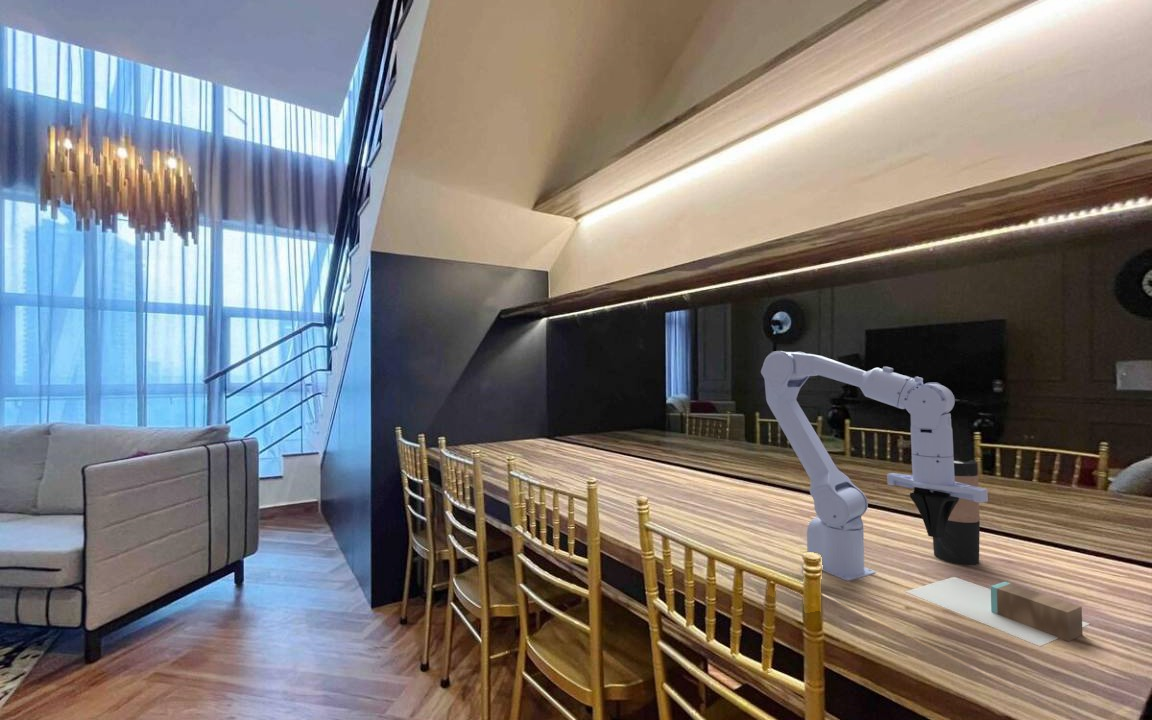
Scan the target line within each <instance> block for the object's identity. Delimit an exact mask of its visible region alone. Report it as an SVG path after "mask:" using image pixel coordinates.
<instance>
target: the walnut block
mask: <svg viewBox="0 0 1152 720" xmlns="http://www.w3.org/2000/svg"><path fill="white" fill-rule="evenodd" d="M990 589H991V612H993V613H995V614H998V615H1000V616H1003V617H1006V618H1008V619H1011V620H1013V621H1016V622H1019V623H1021V624H1024V625H1027V626H1029V627H1032V628H1034V629H1037V630H1040V631H1042V632H1045V633H1048V634H1050V635H1053V636H1055V637H1058V639H1061V640H1064V641H1067V642H1071V641H1073V640H1075V639H1076V638H1079V637H1081V636H1083V634H1084V631H1083V627H1082V621H1083V610H1082V609H1083V607H1082V606H1081V605H1078V604H1075V603H1072V602H1069V601H1066V600H1063V599H1060V598H1057V597H1053V596H1051V595H1048V594H1046V593H1045V594H1043V593H1041V592H1038V591H1035V590H1032V589H1029V588H1026V587H1022V586H1020V585H1017V584H1014V583H1011V582H1008V581H1002V582H999V583H996V584H992V585H990Z"/></svg>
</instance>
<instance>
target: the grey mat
mask: <svg viewBox="0 0 1152 720" xmlns="http://www.w3.org/2000/svg"><path fill="white" fill-rule="evenodd" d="M904 592H905V593H907V594H910V595H911V596H914V597H917V598H919V599H921V600H925V601H926V602H929V603H931V604H934V605H936V606H939V607H942V608H944V609H946V610H948V611H952V612H954V613H956V614H959V615H961V616H964V617H966V618H969V619H971V620H973V621H976V622H979V623H982V624H983V625H986V626H988V627H990V628H992V629H996V630H998V631H1001V632H1003V633H1005V634H1008V635H1010V636H1012V637H1015V638H1017V639H1020V640H1023V641H1025V642H1028V643H1031V644H1032V645H1035V646H1038V647H1043V646H1044V645H1047V644H1049V643H1051V642H1054V641H1055V640H1058V639H1059V638H1058V637H1055V636H1053V635H1050V634H1048V633H1045V632H1042V631H1040V630H1037V629H1034V628H1032V627H1029V626H1027V625H1024V624H1021V623H1019V622H1016V621H1013V620H1011V619H1008V618H1006V617H1003V616H1000V615H998V614H995V613H993V612H991V588H987V587H985V586H982V585H979V584H975V582H970V581H968V580H964V579H961V578H959V577H956V576H951V577H949V578H945V579H942V580H938V581H935V582H932V583H928V584H926V585H925V584H924V585H922V586H920V587H919V586H918V587H916V588H913V589H909V590H906V591H904ZM1088 625H1090V623H1088V622H1086V621H1083V620H1082V628H1084V627H1087V626H1088Z"/></svg>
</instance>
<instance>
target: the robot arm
mask: <svg viewBox="0 0 1152 720" xmlns="http://www.w3.org/2000/svg"><path fill="white" fill-rule="evenodd" d="M760 373H761V375H762V377H763V379H764V388H765V389H764V390H765V400H766V403H767V405H768V407H769V409H770V411H771V412H772V414H773V416H774V417H775V419H776V421H777V423H778V425H779V427H780V429H781V430H782V432H783V433H784V435H785V436H786V439H787V441H788V442H789V444H790V446H791V447H792V449H793V452H795V455H796V456H797V458H798V460H799V462H800V463H801V465H802V466H803V469H804V470H805V472H806V474H807V475H808V477H809V479H810V486H809V493H810V496H811V497H812V501H813V504H814V506H813V507H814V510H815V514H816V515H817V517H814V518H813V519H811V520H810V522H809V523H808V524H807V528H806V545H807V546H806V548H807V550H806V551H807V552H814V553H818V554H820V555H821V557H822V565H823V571H822V572H826V573H828V574H830V575H833V576H835V577H838V578H839V579H841V580H844V581H847V582H849V581H852V580H856V579H860V578H863V577H867V576H871V575H875V574H876V573H877V572H876V570H873V569H870V568H868V567H865V542H864V541H865V538H864V537H865V536H864V535H865V534H864V532H865V531H864V530H865V529H864V522H863V519H862V516H863V515H865V513H866V512H867V510H868V506H869V503H868V502H869V501H868V498H867V496H866V494H865V493H864V491H862V490H861V489H860V488H859V487H858V486H856V485H855V484H854V483H853V482H852V480H851V479H850V477H849V476H848V475H846V474H845V473H843V472H842V471H841V470H839V468H838V467H837V466H836V464H835V463H834V461H833V459H832V457H831V456H830V454H829V452H828V451H827V449H826V448H825V446H824V443H822V440H821V439H820V437H819V436H818V434H817V433H816V431H815V428H814V427H813V426H812V424H811V423H810V421H809V419H808V417H807V416H806V414H805V412H804V411H803V409H802V407H801V406H800V404H799V402H798V401H797V398H798V396H799V395H798V394H799V392H800V390H801V388H802V386H803V385H804V384H805V383H806V381H807V380H808V379H809V378H810V377H815V376H820V377H824V378H828V379H830V380H833V381H834V380H835V381H838V382H841V383H844V384H848V385H851V386H855V387H858V388H859V389H860V390H861V392H862V394H863V395H864V397H866V398H868V399H871V400H875V401H877V402H880V403H883V404H886V405H889V406H892V407H895V408H897V409H901V410H906V411H907V412H908V413H909V415H910V444H911V445H910V447H911V448H910V449H911V468H912V470H911V471H912V474H904V473H896V472H891V473H887V474H886V479H887V482H886V483H887V484H886V485H889V486H899V487H903V488H909V489H913V491H912V492H910V493H909V497H910V499H911V501H912V502H913V504H914V505H915V507H916V508H917V511H918V512H919V514H920V516H921V518H922V521H923V524H924V526H925V529H926V533H927V536H928V537H931V538H933V537H934V538H939V537H943V536H944V532H945V528H946V524H947V521H948V518H949V516H950V514H951V512H952V510H953V508H954V507H955V505H956V504H957V502H958V501H959V498H964V499H969V500H973V501H974V502H979V504H982V503H988V502H989V498H988V497H989V496H988V493H989V492H988V488H984V487H983V488H982V487H979V486H978V487H974V486H970V485H967V484H963V483H959V482H955V476H954V458H955V457H954V439H953V437H954V436H953V434H954V433H953V427H952V418H951V417H952V415H951V413H950V412H951V411H952V410H953V408H954V406H955V403H956V402H955V401H956V399H955V398H956V397H955V395H954V394H953V392H952V390H951V389H949V388H948V387H946V386H945V385H942V384H941V383H939V382H937V381H936V382H926V383H924V378H923V377H919V376H914V377H911V376H908V375H903V374H900V373H898V372H894V368H893V367H889V366H883V367H882V368H880V367H874V368H872V369H869V370H867V371H866V370H863V369H860V368H859V367H855V366H851V365H849V364H846V363H843V362H840V361H837V360H835V359H831V358H828V357H826V356H823V355H818V354H814V353H806V352H803V351H783V350H776V351H771V353H769V354H768V355H767V356H766V357H765V359H764V361H763V365H762V367H761V370H760ZM942 490H943V491H942ZM807 552H806V553H807Z"/></svg>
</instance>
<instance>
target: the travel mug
mask: <svg viewBox="0 0 1152 720" xmlns="http://www.w3.org/2000/svg"><path fill="white" fill-rule="evenodd" d="M978 469H979V468H978V462H977V461H975V460H973V459H970V460H969V461H963V460H959V458H956V457H954V476H955V482H959V483H963V484H967V485H970V486H974V487H979V472H978ZM942 491H943V490H942ZM980 522H981V521H980V503H979V502H974V501H973V500H969V499H964V498H959V501H958V502H957V504H956V505H955V507H954V508H953V510H952V512H951V514H950V516H949V518H948V521H947V524H946V528H945V532H944V536H943V537H939V538H934V537H932V546H933V555H934V557H935V558H937V559H939V560H941V561H943V562H946V563H951V564H955V565H959V566H960V565H961V566H977V565H979V564H980V537H981V536H980V535H981V533H980V525H981V524H980Z"/></svg>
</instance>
